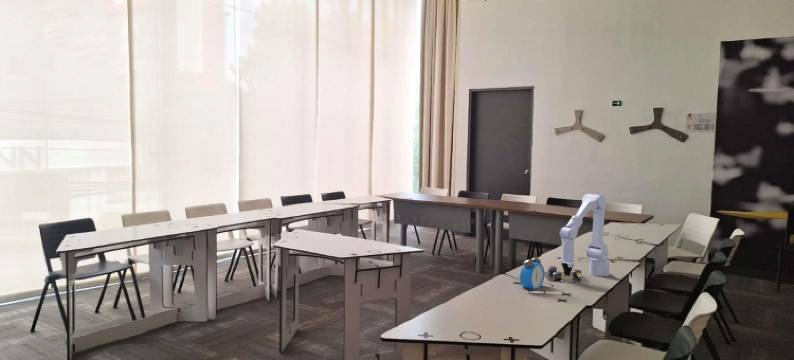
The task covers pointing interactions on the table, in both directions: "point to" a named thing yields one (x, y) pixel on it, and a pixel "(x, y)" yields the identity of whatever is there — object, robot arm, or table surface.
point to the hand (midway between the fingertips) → (567, 277)
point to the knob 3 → (576, 273)
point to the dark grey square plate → (550, 279)
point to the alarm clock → (532, 273)
